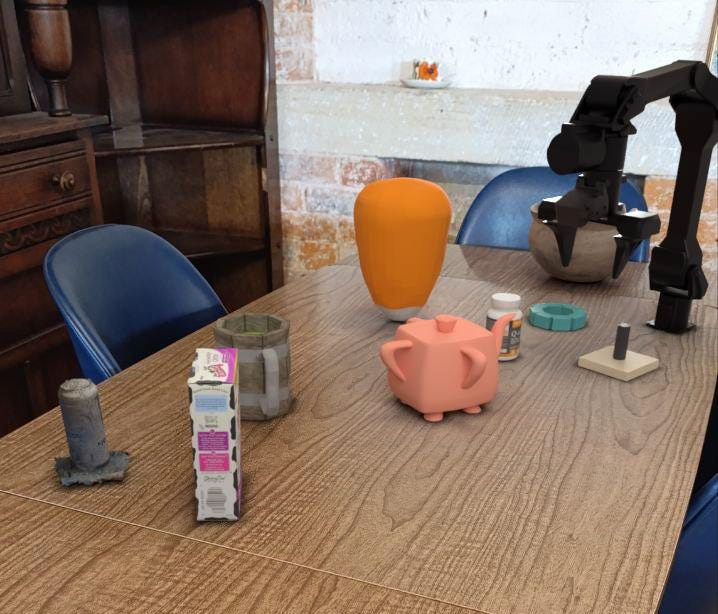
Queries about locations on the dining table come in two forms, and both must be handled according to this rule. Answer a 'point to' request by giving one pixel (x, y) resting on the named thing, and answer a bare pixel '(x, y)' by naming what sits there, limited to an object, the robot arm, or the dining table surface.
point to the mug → (259, 361)
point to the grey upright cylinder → (86, 437)
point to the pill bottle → (512, 333)
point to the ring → (557, 316)
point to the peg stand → (619, 358)
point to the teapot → (444, 364)
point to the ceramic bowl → (575, 250)
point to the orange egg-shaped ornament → (401, 242)
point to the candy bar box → (216, 433)
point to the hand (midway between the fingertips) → (589, 272)
